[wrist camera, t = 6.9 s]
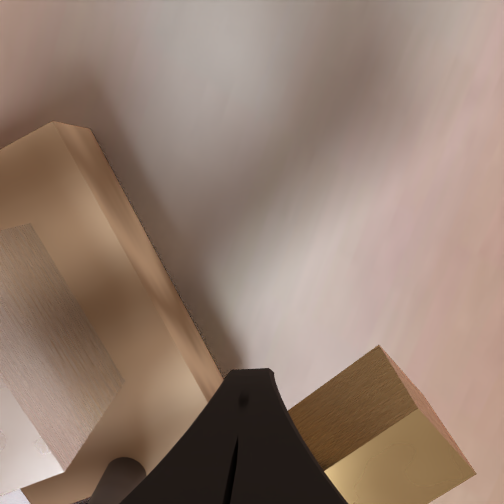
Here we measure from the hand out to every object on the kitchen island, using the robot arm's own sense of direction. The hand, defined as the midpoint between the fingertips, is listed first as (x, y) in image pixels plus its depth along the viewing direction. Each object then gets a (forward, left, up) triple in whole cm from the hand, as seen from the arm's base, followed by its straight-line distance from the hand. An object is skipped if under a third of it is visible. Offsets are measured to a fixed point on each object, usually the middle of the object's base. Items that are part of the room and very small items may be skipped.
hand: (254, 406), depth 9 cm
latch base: (+2, +10, -10) cm, 14 cm away
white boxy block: (+3, +10, -7) cm, 12 cm away
